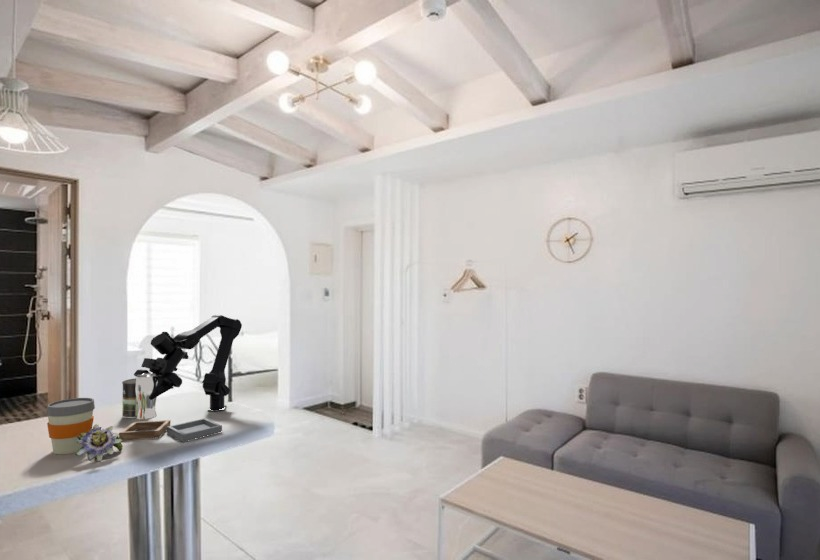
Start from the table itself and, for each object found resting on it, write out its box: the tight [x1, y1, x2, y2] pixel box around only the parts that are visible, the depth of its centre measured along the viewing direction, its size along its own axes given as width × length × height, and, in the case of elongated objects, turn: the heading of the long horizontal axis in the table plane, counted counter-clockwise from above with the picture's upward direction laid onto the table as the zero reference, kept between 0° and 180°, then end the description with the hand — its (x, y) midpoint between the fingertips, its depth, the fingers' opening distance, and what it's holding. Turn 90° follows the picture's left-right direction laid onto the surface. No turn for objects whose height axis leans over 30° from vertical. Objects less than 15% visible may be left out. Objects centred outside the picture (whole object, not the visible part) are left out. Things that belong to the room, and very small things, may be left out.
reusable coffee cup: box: [45, 397, 96, 455], centre depth 146 cm, size 13×12×15 cm
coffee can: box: [121, 377, 138, 419], centre depth 183 cm, size 10×10×14 cm
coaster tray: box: [166, 417, 223, 443], centre depth 161 cm, size 14×14×2 cm
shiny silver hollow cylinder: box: [135, 373, 158, 421], centre depth 161 cm, size 7×7×15 cm
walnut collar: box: [118, 419, 171, 441], centre depth 161 cm, size 12×12×2 cm
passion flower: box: [74, 423, 123, 463], centre depth 139 cm, size 11×11×12 cm
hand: (143, 398), depth 160 cm, fingers closed on shiny silver hollow cylinder, 6 cm apart
